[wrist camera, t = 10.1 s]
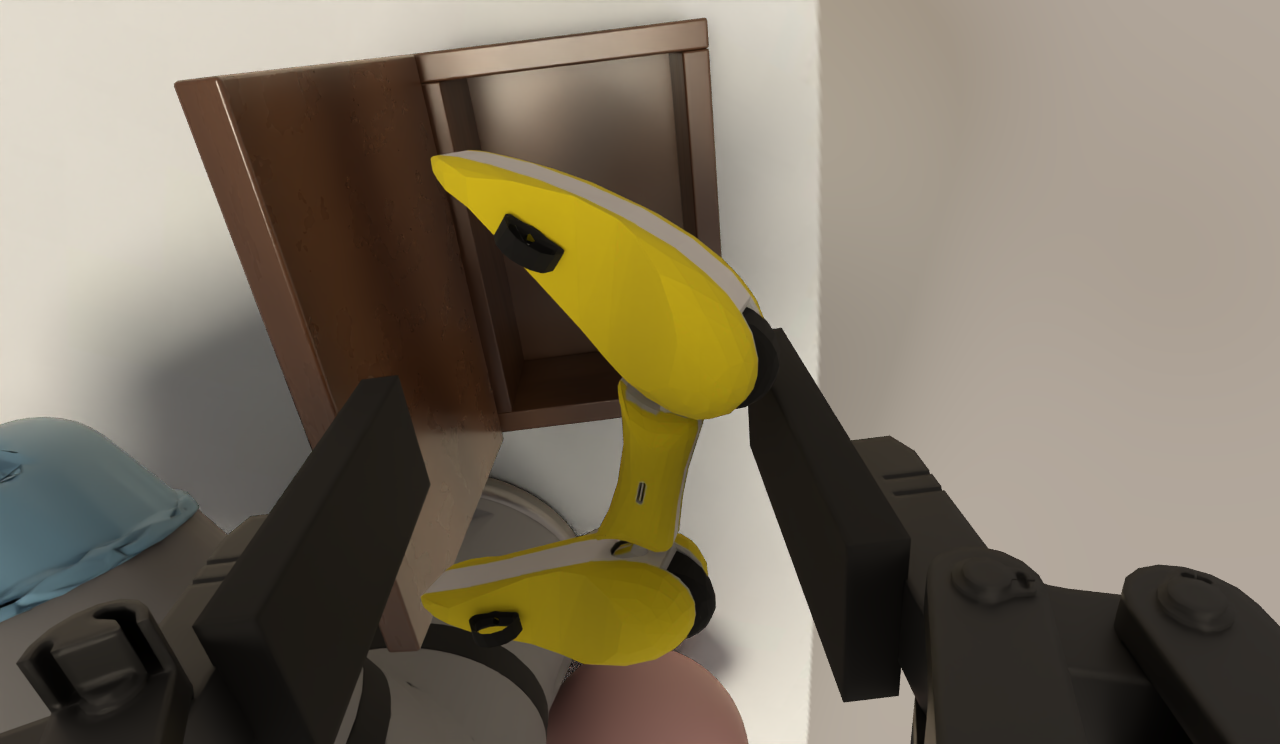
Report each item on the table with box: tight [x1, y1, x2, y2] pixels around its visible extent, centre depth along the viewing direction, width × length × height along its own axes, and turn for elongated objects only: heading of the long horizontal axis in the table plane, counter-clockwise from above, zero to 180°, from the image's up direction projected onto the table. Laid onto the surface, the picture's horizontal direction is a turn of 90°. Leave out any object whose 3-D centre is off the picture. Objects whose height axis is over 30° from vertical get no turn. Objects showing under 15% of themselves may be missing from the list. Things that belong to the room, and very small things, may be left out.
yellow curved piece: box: [421, 150, 781, 666], centre depth 13 cm, size 10×6×4 cm, turn 171°
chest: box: [412, 18, 722, 432], centre depth 28 cm, size 10×14×6 cm
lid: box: [174, 54, 503, 653], centre depth 20 cm, size 11×14×1 cm
